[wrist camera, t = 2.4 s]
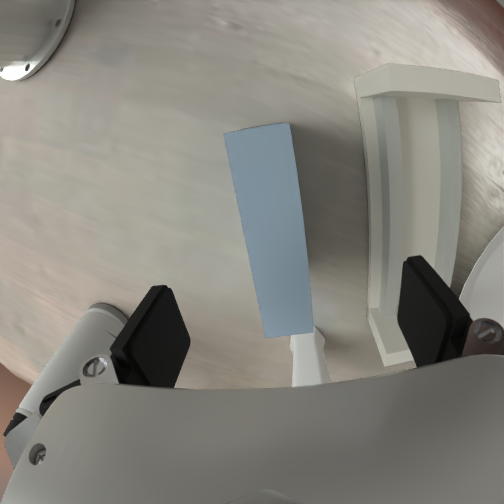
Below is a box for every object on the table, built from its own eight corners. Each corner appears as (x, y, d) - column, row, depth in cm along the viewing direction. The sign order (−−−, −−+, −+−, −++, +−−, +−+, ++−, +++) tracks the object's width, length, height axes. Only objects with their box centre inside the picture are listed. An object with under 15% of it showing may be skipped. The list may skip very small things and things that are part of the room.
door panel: (243, 128, 20) (223, 133, 12) (283, 122, 20) (289, 122, 12) (269, 267, 25) (265, 337, 17) (303, 263, 25) (313, 332, 17)
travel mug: (139, 317, 29) (57, 475, 11) (128, 350, 32) (63, 484, 14) (92, 290, 28) (-9, 427, 10) (86, 326, 31) (9, 448, 13)
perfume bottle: (304, 316, 27) (316, 459, 14) (335, 335, 28) (358, 466, 15) (275, 342, 29) (270, 475, 16) (305, 359, 30) (312, 483, 17)
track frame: (353, 79, 18) (386, 63, 11) (447, 83, 16) (498, 80, 10) (366, 316, 27) (384, 366, 21) (440, 301, 26) (468, 343, 19)
